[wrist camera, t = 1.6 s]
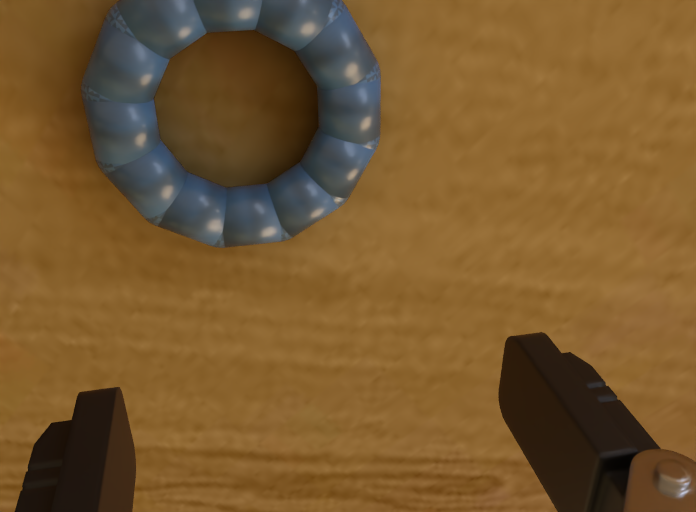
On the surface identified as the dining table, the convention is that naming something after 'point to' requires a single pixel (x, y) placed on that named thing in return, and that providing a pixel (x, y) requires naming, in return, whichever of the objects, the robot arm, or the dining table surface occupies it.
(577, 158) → the dining table surface
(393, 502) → the dining table surface
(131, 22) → the blue teething ring
